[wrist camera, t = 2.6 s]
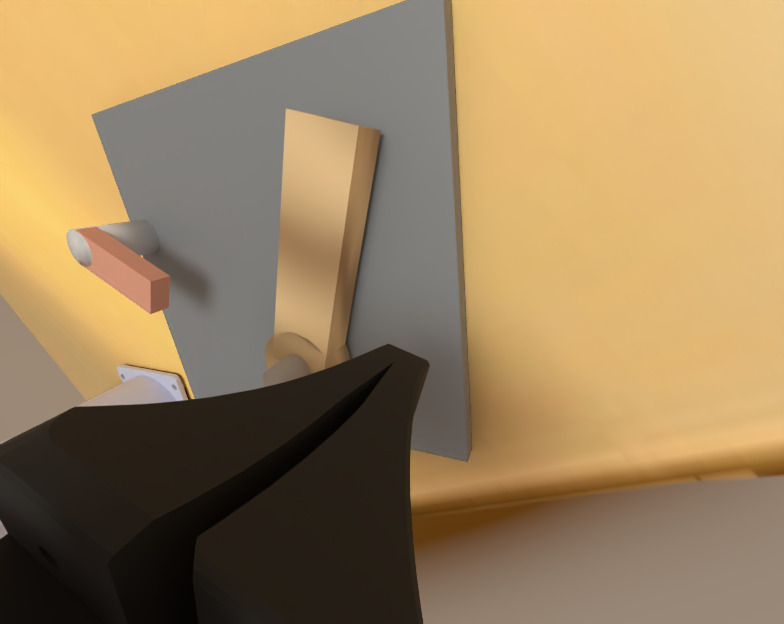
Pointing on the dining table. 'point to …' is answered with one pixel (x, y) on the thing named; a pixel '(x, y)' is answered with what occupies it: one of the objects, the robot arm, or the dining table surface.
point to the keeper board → (263, 205)
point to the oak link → (318, 241)
